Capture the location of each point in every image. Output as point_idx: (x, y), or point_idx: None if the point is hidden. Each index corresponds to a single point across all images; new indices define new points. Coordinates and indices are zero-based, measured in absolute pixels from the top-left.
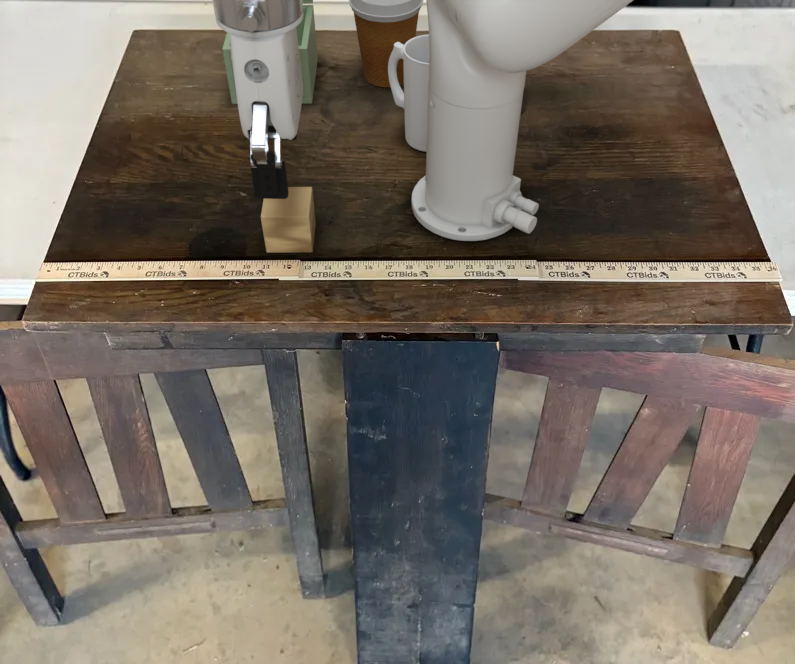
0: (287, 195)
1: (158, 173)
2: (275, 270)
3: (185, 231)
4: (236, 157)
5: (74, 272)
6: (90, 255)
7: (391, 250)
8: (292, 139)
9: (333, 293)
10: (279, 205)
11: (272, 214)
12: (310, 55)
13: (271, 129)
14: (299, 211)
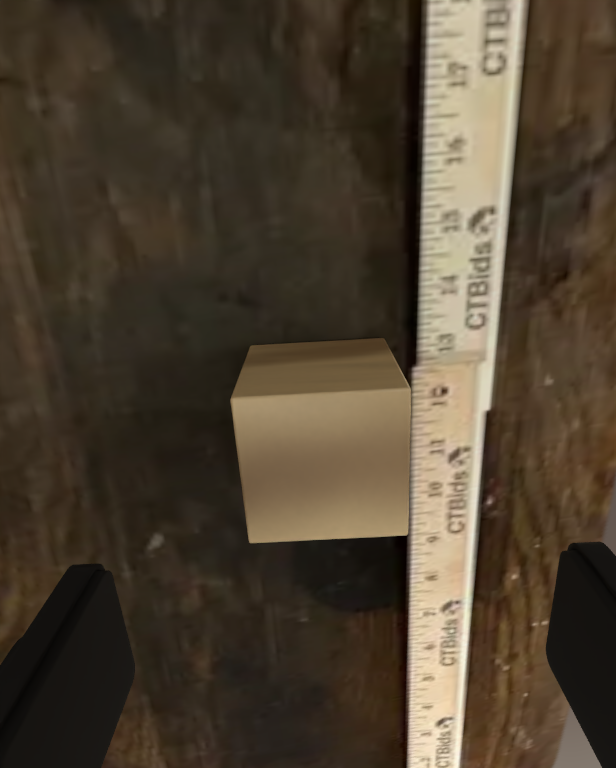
0: (606, 549)
1: None
2: (451, 423)
3: (309, 628)
4: (7, 579)
5: (436, 762)
6: (389, 752)
7: (372, 70)
8: (110, 578)
9: (560, 256)
10: (347, 490)
11: (396, 504)
12: None
13: (107, 708)
14: (381, 423)
